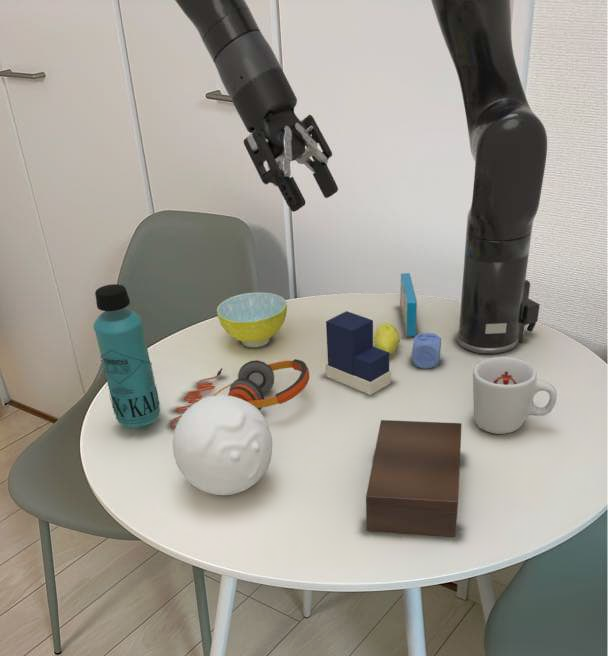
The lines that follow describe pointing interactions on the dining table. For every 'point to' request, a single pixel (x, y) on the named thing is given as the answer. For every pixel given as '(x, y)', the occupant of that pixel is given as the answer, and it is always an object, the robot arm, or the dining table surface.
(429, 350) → the decorative dice
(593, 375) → the dining table surface
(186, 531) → the dining table surface
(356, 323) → the navy blue block
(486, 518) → the dining table surface
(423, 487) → the brown platform
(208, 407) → the decorative ball
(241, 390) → the headphones
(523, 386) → the cup
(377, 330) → the lemon
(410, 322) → the blue rectangular panel
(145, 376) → the beverage bottle
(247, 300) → the bowl
